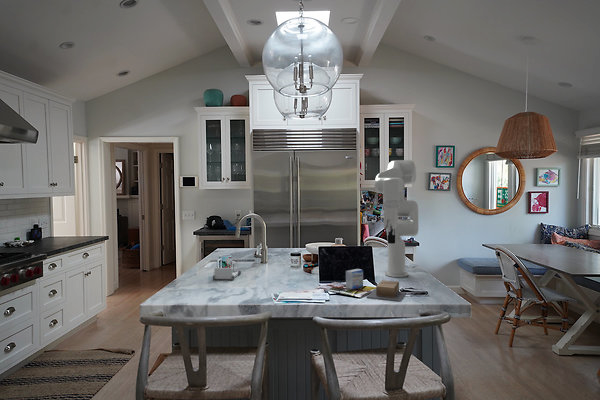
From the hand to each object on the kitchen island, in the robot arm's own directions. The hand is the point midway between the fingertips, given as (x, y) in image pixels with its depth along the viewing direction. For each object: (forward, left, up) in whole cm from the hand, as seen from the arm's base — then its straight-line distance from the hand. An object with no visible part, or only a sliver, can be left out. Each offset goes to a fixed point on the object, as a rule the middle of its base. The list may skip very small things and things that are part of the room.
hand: (391, 243), depth 188 cm
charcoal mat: (+7, -1, -23) cm, 24 cm away
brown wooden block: (-1, -1, -20) cm, 20 cm away
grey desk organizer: (+2, -92, -24) cm, 95 cm away
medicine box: (-2, -19, -24) cm, 30 cm away
